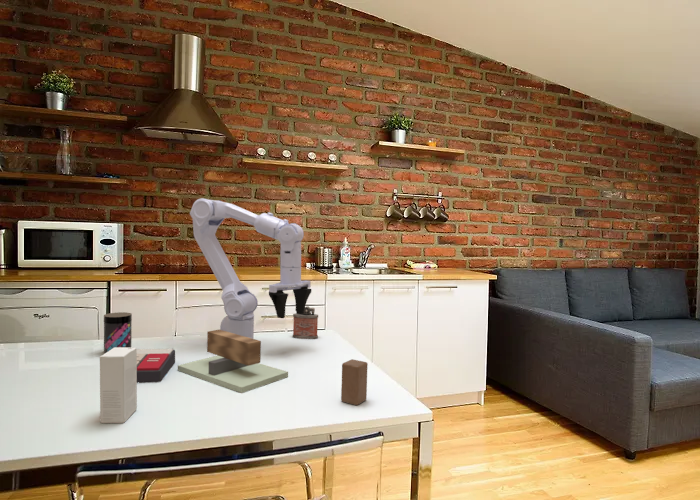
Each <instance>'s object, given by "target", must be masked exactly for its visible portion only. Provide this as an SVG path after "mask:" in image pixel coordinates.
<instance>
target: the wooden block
mask: <svg viewBox="0 0 700 500" xmlns="http://www.w3.org/2000/svg"><path fill="white" fill-rule="evenodd" d="M368 366H369V365H368V362H366V361H362V360H357V359H350V360H347V361H345V362H342V364H341V391H340V392H341V393H340V394H341V395H340V401H341V402H343V403H346V404H351V405H354V406H358V405H360V404H362V403H363V402H365V401H367V396H368V395H367V391H368V388H367V387H368Z"/></svg>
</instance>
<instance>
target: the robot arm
mask: <svg viewBox="0 0 700 500" xmlns="http://www.w3.org/2000/svg"><path fill="white" fill-rule="evenodd" d="M189 216H190V217H191V219H192V229H193V237H194V240H195V241H196V243H197V245H198V247H199V249H200V250H201V252H202V253H203V256H204V259H206V262H207V264H208V266H209V267H210V268H211V271H212V272H213V274H214V277H215V279H216V280H217V283H218V284H219V286H220V288H221V290H222V293H221V297H220V298H221V300H222V303H223V310H224V312H225V315H226V316H225V317H223V319H222V320H221V322H220V325H219V326H220V327H219V328H220V329H219V330H223V331H227V332H230V333H234V334H237V335H241V336H245V337H248V338H252V339H255V338H254V334H255V333H254V331H255V329H254V328H255V315H254V312H255V311H256V309H257V308H258V304H259V303H258V302H259V301H258V299H257V296H256V295H255V294H254V293H252V291H250V290H249V288H248V286H247V285H245V284H244V283H243V282H241V281H240V279H239V277H238V275H237V273H236V271H235V269H234V267H233V266H232V264H231V262H230V260H229V258H228V256H227V254H226V253H225V251H224V250H223V247H222V246H221V243H220V241H219V240H218V238H217V235H216V234H217V230H218V228H219V226H220V225H221V224H222V223H223V222H224V220H225V219H230V218H231V219H234V220H237V221H240V222H243V223H246V224H249V225H250V226H254V229H255V231H256V232H257V233H258V234H261V235H265V237H266V236H267V237H269V238H271V239H274V240H277V241H279V243H280V252H279V253H280V267H279V268H280V270H279V271H280V272H279V273H280V274H279V275H280V276H279V277H280V278H279V279H280V282H278V283H274V284H269V285H268V296H269V297H270V299H271V301H272V304H273V306H274V309H275V313H276V317H277V318H279V319H285V317H286V304H287V300H288V297H289V293H285V291H291V290H292V292H293V295H294V300H295V309H296V311H295V313H297V314H303V313H304V309H305V307H306V306H307V301H308V299H309V297H310V295H311V294H312V288H311V286H312V285H311V283H312V282H311V280H302V240H303V239H304V236H305V234H304V229H303V227H301V226H300V225H299V224H298V223H294V222H293V223H289V219H286V218H285V219H281V218H278V217H276V216H274V213H272V212H267V213H266V212H262V213H261V214H256V213H253V212H252V211H250V210H247V209H246V208H245V209H244V208H243V207H240V206H238V205H236V204H234V203H231V202H226V201H222V200H220V199H219V200H218V199H217V200H215V199H214V200H213V199H208V198H203V197H201V198H198V199H196V200H195V201H194V202H193V203H192V207H191V209H190V211H189Z"/></svg>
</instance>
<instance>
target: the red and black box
mask: <svg viewBox="0 0 700 500" xmlns="http://www.w3.org/2000/svg"><path fill="white" fill-rule="evenodd" d="M136 352H137V383H138V382H139V383H161V382H162V380H164V378H165V377H166V375H167V374H168V373H169V371H170V370H171V368H172V367H173V366H174V365H175V363H176V350H175V349H173V348H141V349H139V348H136Z"/></svg>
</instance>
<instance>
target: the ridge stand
mask: <svg viewBox="0 0 700 500" xmlns="http://www.w3.org/2000/svg"><path fill="white" fill-rule="evenodd" d="M177 371H178V372H181V373H184V374H187V375H189V376H193V377H195V378H198V379H201V380H203V381H206V382H209V383H213V384H214V385H218V386H220V387H223V388H225V389H229V390H231V391H234V392H236V393H241V394H243V393H246V392H249V391H251V390H255V389H258V388H260V387H263V386H266V385H268V384H271V383H274V382H278V381H280V380H283V379H286V378H289V371H286V370H283V369H280V368H277V367H273V366H269V365H267V364H262V363H261V362H260V363H257V364H253V365H249V366H248V365H245V364H242V363H239V362H236V361H233V360H230V359H227V358H224V357H221V356H218V355H213V356H211V357H210V356H209V357H206V358H203V359H198V360H195V361H189V362H186V363H182V364H178V365H177Z"/></svg>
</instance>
